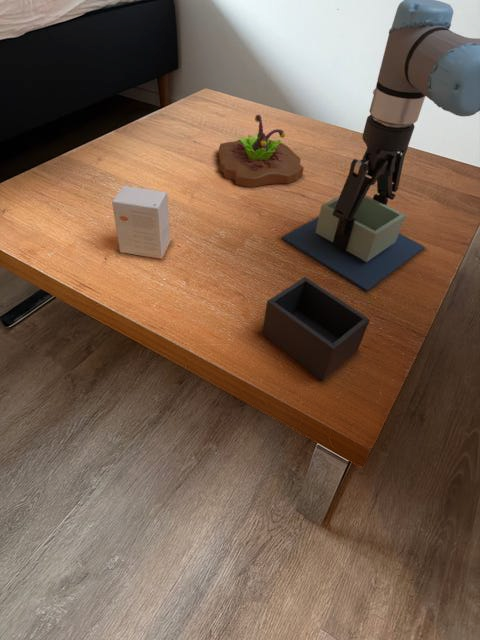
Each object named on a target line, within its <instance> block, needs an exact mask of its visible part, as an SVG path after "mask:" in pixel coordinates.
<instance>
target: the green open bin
mask: <svg viewBox="0 0 480 640" xmlns="http://www.w3.org/2000/svg"><path fill="white" fill-rule="evenodd" d="M339 197H340V195H338V196H337V197H335V198H333V199H330V200H328V201H327V202H325V203H323V204H321V206H320V210H319V216H318V217H319V219H318V223H317V228H316V233H317V234H319V235H321V236H322V237H324V238H326V239H328V240H329V241H331V242H333V240H334V236H335V233H336V229H337V225H338V221H339V218H337V217H335V216H333V211H334V209H335V206H336V204H337V202H338V199H339ZM406 216H407V214H404V213H402V212H401V211H398V210H396V209H394V208H392V207H390V206H388V205H384V204H382V203H380V202H378V201H376V200H374V199H373V197H370V196H368V195H367V194H366V195H365V197H364V199H363V201H362V202H361V204H360V206H359V208H358V210H357V211H356V213H355V215H354V217H353V218H354V219H355V222H354V225H353V228H352V232H351V235H350V239H349V242H348V245H347V249H346V250H347V251H348V252H350V253H352V254H353V255H355V256H357V257H359V258H360V259H362V260H364V261H365V262H367V261H369V260H370V259H372V258H373V257H375V256H376V255H378V254H379V253H381V252H382V251H383V250H385V249H386V248H388V247H389V246H391V245H392V244H394V243H395V242H396V240H397V237H398V235H399V233H400V232H401V230H402V226H403V224H404V222H405V219H406Z"/></svg>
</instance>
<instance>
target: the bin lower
mask: <svg viewBox="0 0 480 640" xmlns="http://www.w3.org/2000/svg"><path fill="white" fill-rule="evenodd" d="M370 320H371V318H369V317H367V316H366V315H365V314H363V313H361V312H360V311H358V310H357V309H355V308H354V307H352V306H351V305H349V304H348V303H346V302H345V301H343V300H341V299H339V298H338V297H336V296H335V295H334V294H332V293H331V292H329V291H327V290H326V289H325V288H323V287H321V286H320V285H318V284H317V283H315V282H314V281H312V280H311V279H310V278H308V277H306V276H304V277H302V278H301V279H299V280H297V282H294V283H293V284H292V285H290V286H289V287H287V288H285V289H284V290H282V291H280V292H279V293H278V294H276V295H274V296H273V297H272V298H269V299H268V300H267V301H266V307H265V314H264V319H263V327H262V332H261V334H262V336H264V337H265V338H266V339H268V340H269V341H270V342H271V343H273V344H274V345H276V346H277V347H278V348H279V349H281V351H283V352H284V353H286V354H287V355H288V356H290V357H291V358H292V359H293V360H294V361H296V362H298V364H300V365H301V366H302V367H304V368H305V369H307V370H308V371H309V372H310V373H312V374H313V375H314V376H315V377H316V378H318V379H319V380H320V381H322V382H324V381H325V380H326V379H327V378H328V377H329V376H331V375H332V374H333V373H334V372H335V371H337V369H339V368H340V367H341V366H343V365H344V363H346V362H347V361H348V360H349V359H351V358H352V357H353V356H354V355H355V354H357V353H358V350H359V349H360V346H361V343H362V341H363V338H364V335H365V334H366V331H367V329H368V325H369V323H370Z"/></svg>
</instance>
